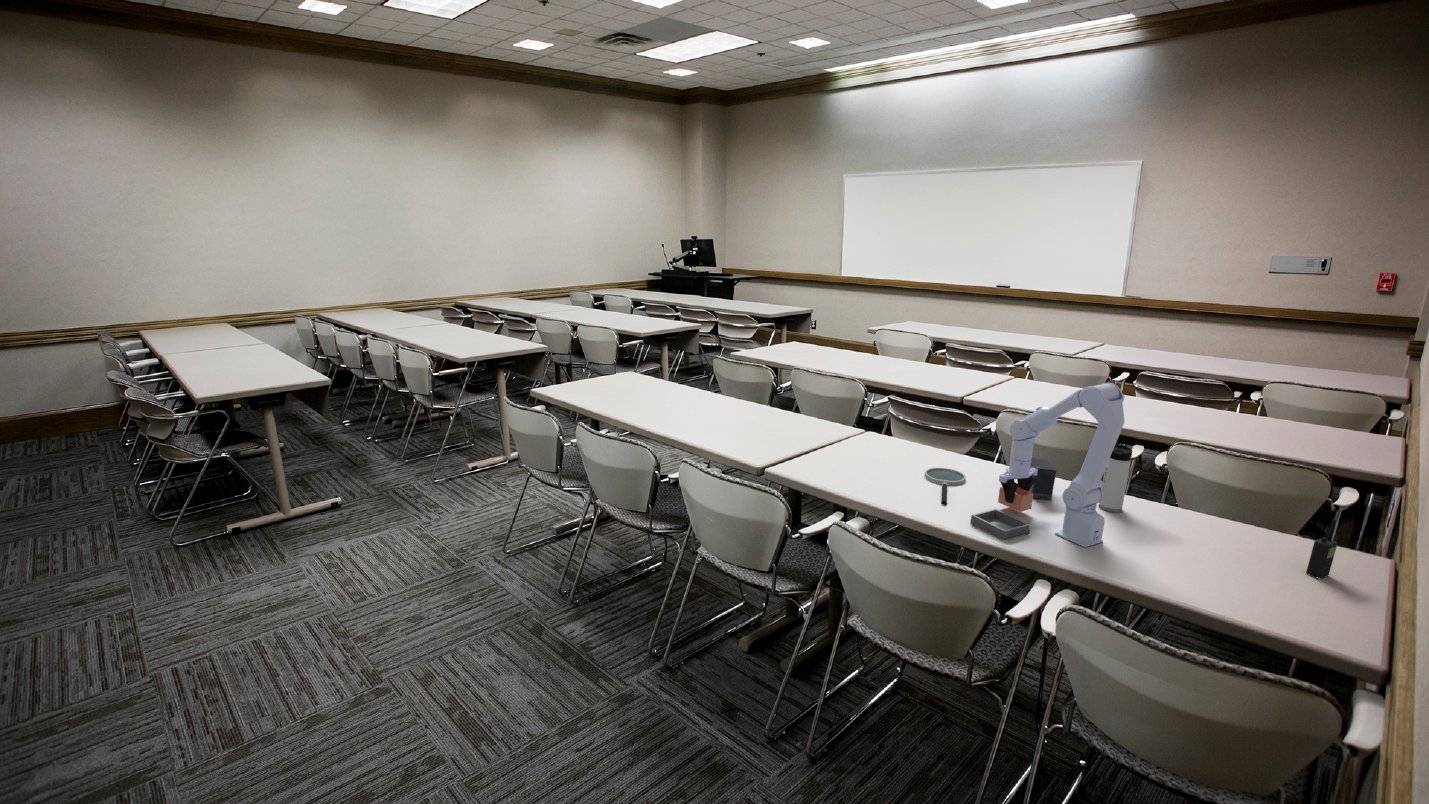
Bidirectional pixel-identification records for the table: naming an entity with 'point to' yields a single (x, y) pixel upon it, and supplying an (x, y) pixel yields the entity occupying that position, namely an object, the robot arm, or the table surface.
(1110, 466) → the travel mug
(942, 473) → the magnifying glass
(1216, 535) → the table surface
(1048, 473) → the small box
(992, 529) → the charcoal crate
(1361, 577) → the table surface
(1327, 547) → the walkie-talkie
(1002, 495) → the terracotta crate
